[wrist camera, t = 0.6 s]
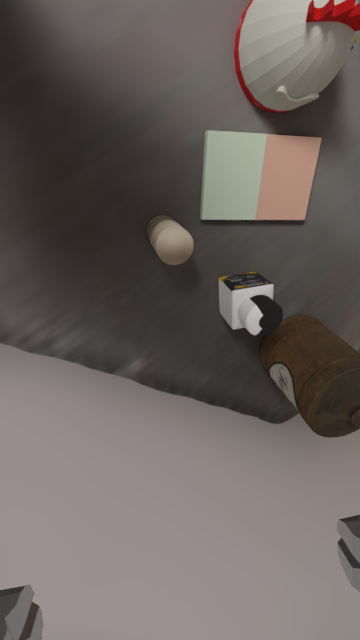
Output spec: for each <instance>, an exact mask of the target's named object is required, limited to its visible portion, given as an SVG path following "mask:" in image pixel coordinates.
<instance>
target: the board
mask: <svg viewBox="0 0 360 640" xmlns="http://www.w3.org/2000/svg"><path fill="white" fill-rule="evenodd" d="M321 139H322V138H319V137H303V136H288V135H273V134H257V133H242V132H227V131H211V130H207V131H205V143H204V159H203V175H202V191H201V207H200V219H201V220H305V216H306V211H307V207H308V202H309V197H310V192H311V187H312V183H313V178H314V173H315V168H316V163H317V159H318V154H319V149H320V144H321Z"/></svg>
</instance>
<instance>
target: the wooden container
mask: <svg viewBox="0 0 360 640" xmlns="http://www.w3.org/2000/svg"><path fill="white" fill-rule="evenodd" d="M260 360H261V363H262V365H263V367H264V368H265V369H266V371H267V372H268V373H269V375H270V376H271V378H272V379H273V380H274V382H275V383H276V384H277V386H278V387H279V388H280V389H281V391H282V392H283V393H284V394H285V396H286V397H287V398H288V399H289V401H290V402H291V403H292V404H293V406H294V407H295V408H296V409H297V411H298V412H299V413H300V414H301V416H302V418H303V419H304V420H305V422H306V423H307V424H308V425H309V427H310V428H311V429H312V430H313V431H314V432H315V433H316V434H318V435H321V436H323V437H339V436H344V435H347V434H350V433H352V432H354V431H356V430H358V429H360V354H359V353H358V352H357V351H356V350H354V349H353V348H352V347H351V346H350V345H348V344H347V343H346V342H345V341H344V340H342V339H341V338H340V337H339V336H337V335H336V334H335V333H333V332H332V331H331V330H329V329H328V328H327V327H325V326H324V325H323V324H322V323H320V322H319V321H317V320H316V319H314V318H313V317H310V316H305V315H298V316H292V317H289V318H287V319H285V320H283V321H281V323H280V325H279V327H278V328H277V329H276V330H275V331H274V332H272V333H271V334H269V335H266V337H265V338H264V340H263V342H262V345H261V348H260Z"/></svg>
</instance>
